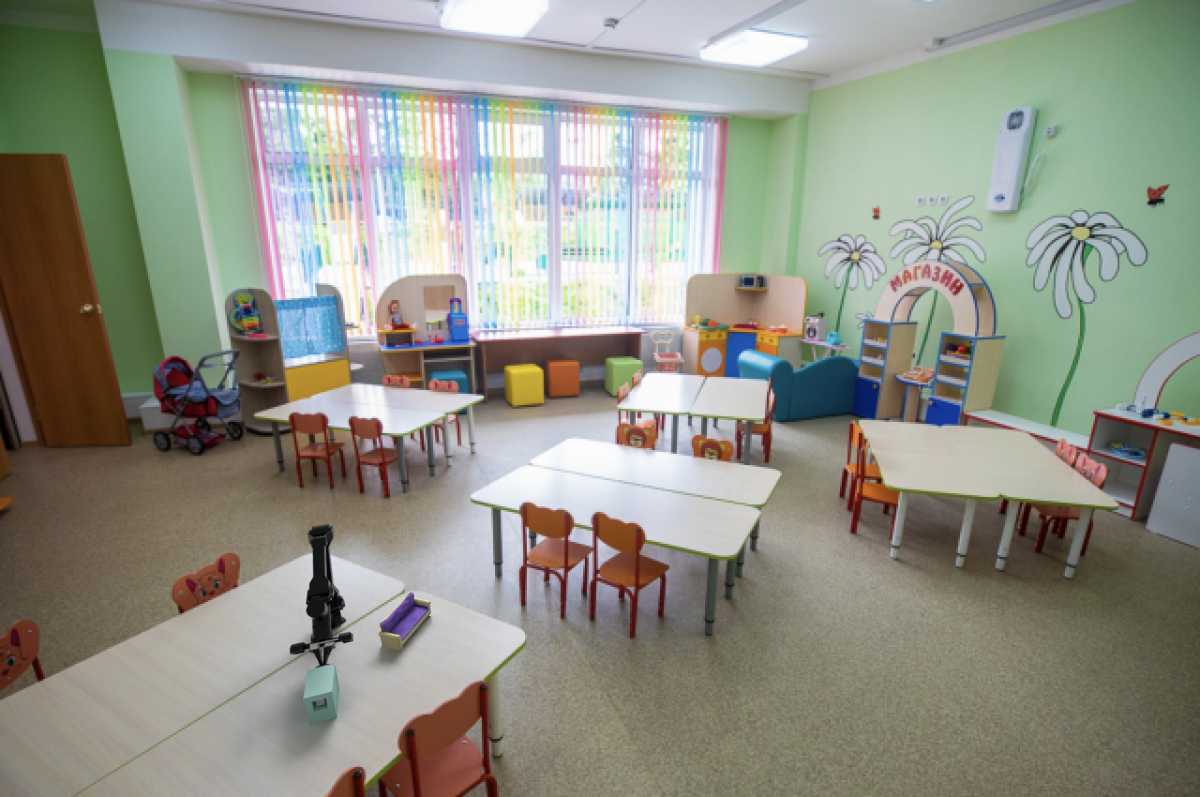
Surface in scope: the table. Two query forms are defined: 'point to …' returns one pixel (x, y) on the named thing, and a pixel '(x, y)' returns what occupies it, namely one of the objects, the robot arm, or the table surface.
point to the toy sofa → (403, 621)
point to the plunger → (322, 701)
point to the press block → (321, 694)
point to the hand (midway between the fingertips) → (323, 670)
